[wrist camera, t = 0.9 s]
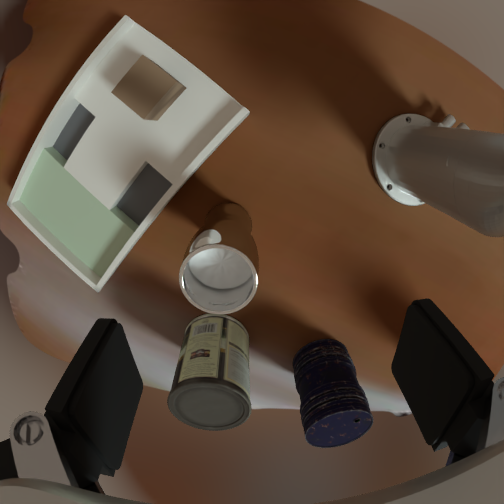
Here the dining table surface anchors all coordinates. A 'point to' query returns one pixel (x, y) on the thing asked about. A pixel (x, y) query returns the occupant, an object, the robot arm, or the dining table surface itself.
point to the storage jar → (330, 395)
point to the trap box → (116, 155)
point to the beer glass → (221, 262)
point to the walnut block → (148, 89)
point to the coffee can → (212, 374)
